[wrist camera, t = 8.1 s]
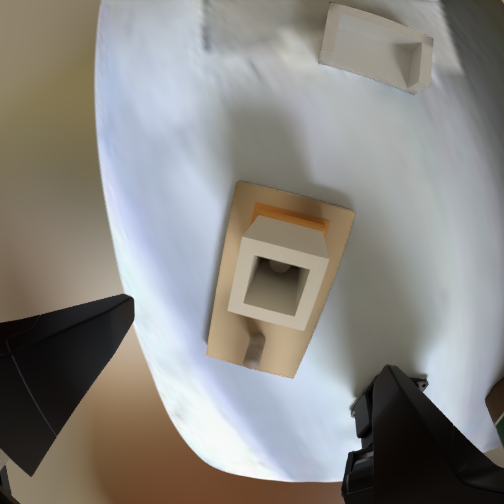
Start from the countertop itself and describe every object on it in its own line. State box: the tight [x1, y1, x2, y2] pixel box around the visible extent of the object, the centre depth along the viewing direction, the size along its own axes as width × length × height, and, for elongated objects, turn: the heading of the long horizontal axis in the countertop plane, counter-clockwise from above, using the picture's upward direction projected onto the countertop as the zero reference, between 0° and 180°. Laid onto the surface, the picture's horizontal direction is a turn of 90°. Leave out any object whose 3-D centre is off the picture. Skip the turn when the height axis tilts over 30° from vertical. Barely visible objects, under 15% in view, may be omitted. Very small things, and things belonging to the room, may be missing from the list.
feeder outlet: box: [319, 2, 433, 95], centre depth 12 cm, size 7×4×3 cm, turn 78°
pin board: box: [206, 181, 355, 379], centre depth 19 cm, size 8×15×4 cm, turn 168°
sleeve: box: [227, 208, 329, 331], centre depth 16 cm, size 4×4×6 cm
